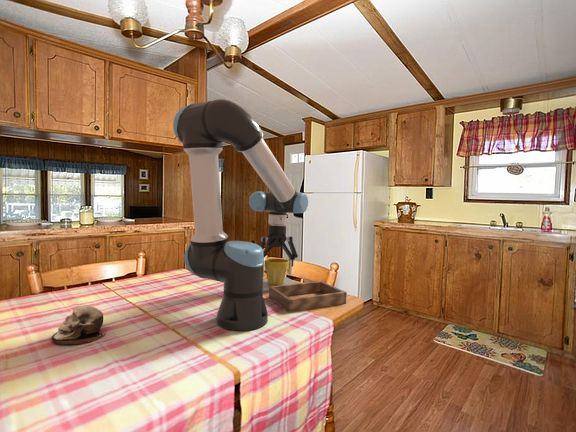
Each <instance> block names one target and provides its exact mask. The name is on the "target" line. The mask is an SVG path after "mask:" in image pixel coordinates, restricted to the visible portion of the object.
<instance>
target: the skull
mask: <svg viewBox="0 0 576 432" xmlns="http://www.w3.org/2000/svg"><path fill="white" fill-rule="evenodd" d="M71 312H72V313H71V314H69V315H67V316H66V317H65V320H64V321H63V323H62V324H60V325H59V326H58V329H57V332H55V333H54V334H53V335H51V338H50V339H51V341H52V343H56V344H59V345H72V346H73V345H81V344H87V343H89V342H90V343H91V342H93V341H96V340H99V339H102V338H103V337H105V336H106V335H107V332H106V333H105V334H103V332H102V333H100V330H101V328H102V327H103V324H104V313H103V312H102V311H101V310H100V309H99V308H96V306H95V307H94V306H92V305H86V304H84V305H80V306H78V307H76V308H74V309H72V311H71Z"/></svg>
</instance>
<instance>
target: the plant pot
mask: <svg viewBox="0 0 576 432" xmlns="http://www.w3.org/2000/svg"><path fill="white" fill-rule="evenodd" d="M288 268H289V260H287V259H286V258H278V257H270V258H264V269H265V271H266V279H267V280H268V283H269V284H272V285H281V284H283V283H284V279H285V277H286V275H287V269H288Z"/></svg>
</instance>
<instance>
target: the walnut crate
mask: <svg viewBox="0 0 576 432" xmlns="http://www.w3.org/2000/svg"><path fill="white" fill-rule="evenodd" d="M297 283H298V282H297ZM313 293H322V294H315V295H309V296H300V297H293V298H291V297H289V296H298V295H305V294H313ZM347 294H348V292H347V291H345V290H342V289H340V288H338V287H335V286H333V285H331V284H329V283H327V282H324V281H323V280H319V281H309V282H301V283H298V284H289V285H280V286H271V287H269V293H268V298H269V299H271V300H272V301H273V302H274V303H276V304H277V303H278V304H277V305H279V306H280V305H281V306H282V307H281V306H280V307H281V308H283V309H284V308H285V309H286V310H285V309H284V310H285V311H287V312H288V313H292V312H293V311H294V312H300V311H305V310H311V309H318V308H325V307H330V306H337V305H343V304H347V298H348V297H347Z"/></svg>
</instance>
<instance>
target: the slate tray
mask: <svg viewBox="0 0 576 432" xmlns="http://www.w3.org/2000/svg"><path fill="white" fill-rule="evenodd" d="M289 284H298V282H296V280H293V279H291V278H290V277H287V276H285V279H284V283H283V284H281V285H289ZM271 286H280V285H272V284H269V283H268V280H267V278H263V294H269V287H271Z"/></svg>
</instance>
